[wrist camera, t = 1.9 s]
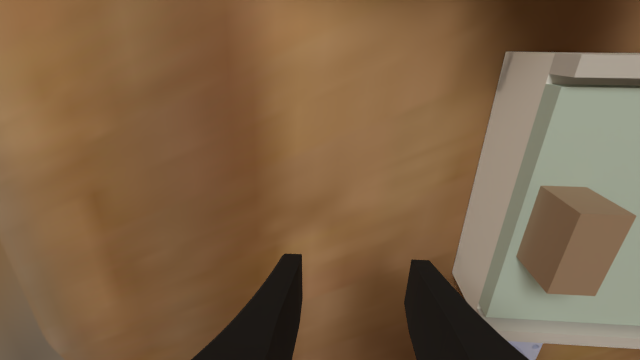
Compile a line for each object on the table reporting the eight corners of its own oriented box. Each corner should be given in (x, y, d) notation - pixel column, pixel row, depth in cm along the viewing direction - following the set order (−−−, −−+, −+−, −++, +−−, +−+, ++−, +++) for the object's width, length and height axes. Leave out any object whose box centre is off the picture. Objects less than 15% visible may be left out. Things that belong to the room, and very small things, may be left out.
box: (652, 282, 21) (748, 355, 16) (451, 272, 22) (484, 339, 17) (790, 54, 15) (1011, 59, 10) (505, 51, 16) (582, 54, 11)
